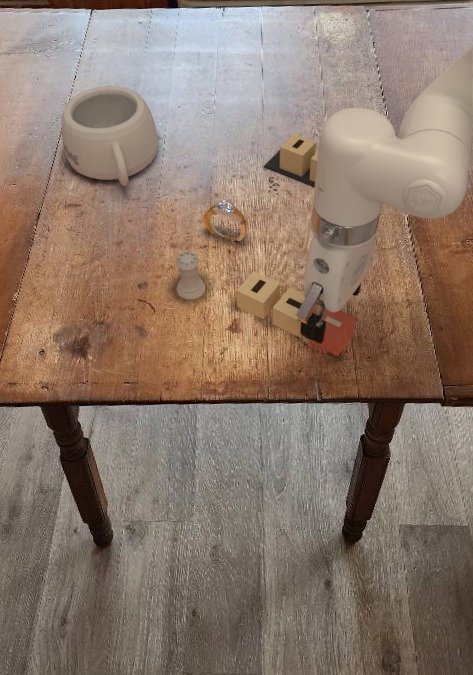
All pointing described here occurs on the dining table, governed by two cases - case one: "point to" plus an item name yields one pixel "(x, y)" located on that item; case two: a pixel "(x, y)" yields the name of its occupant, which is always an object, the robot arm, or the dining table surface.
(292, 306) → the slotted blocks
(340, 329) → the red block
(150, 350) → the dining table surface
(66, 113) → the mug
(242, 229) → the ring
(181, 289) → the rook chess piece
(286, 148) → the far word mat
